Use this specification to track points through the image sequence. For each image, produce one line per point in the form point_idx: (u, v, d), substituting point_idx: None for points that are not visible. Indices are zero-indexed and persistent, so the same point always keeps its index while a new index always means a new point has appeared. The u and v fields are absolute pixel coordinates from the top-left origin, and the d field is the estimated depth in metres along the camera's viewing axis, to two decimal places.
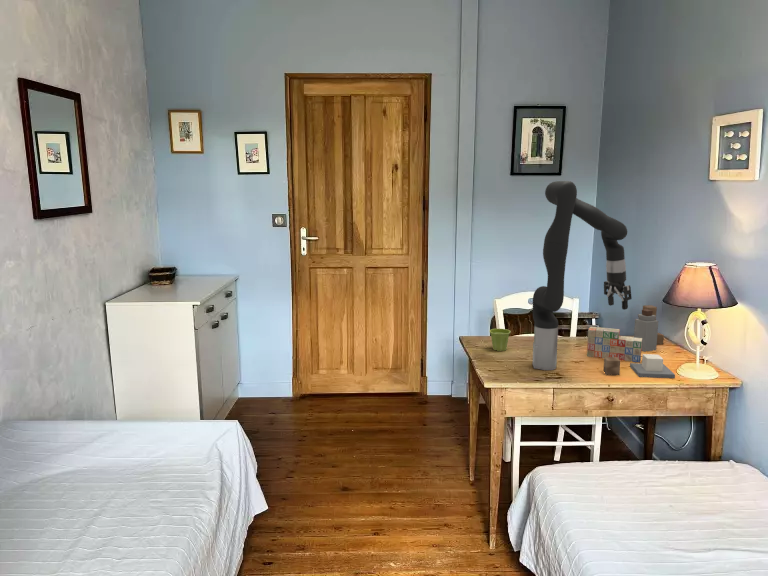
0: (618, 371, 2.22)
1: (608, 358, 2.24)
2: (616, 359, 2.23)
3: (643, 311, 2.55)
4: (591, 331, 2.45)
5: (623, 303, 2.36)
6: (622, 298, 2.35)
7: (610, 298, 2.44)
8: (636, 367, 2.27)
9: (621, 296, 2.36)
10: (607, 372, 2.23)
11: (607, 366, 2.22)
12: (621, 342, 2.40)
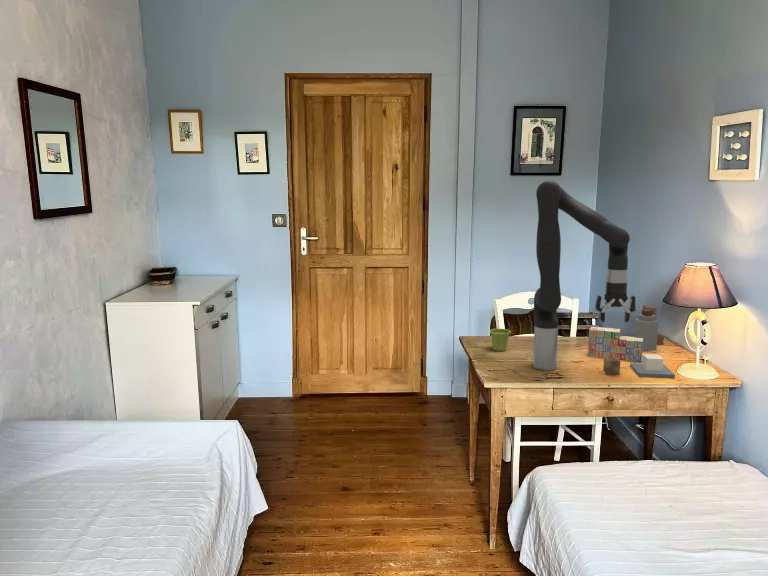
0: (618, 371, 2.22)
1: (608, 358, 2.24)
2: (616, 359, 2.23)
3: (643, 311, 2.55)
4: (592, 331, 2.45)
5: None
6: (601, 308, 2.22)
7: (625, 313, 2.21)
8: (636, 367, 2.27)
9: (603, 306, 2.22)
10: (607, 372, 2.23)
11: (607, 366, 2.22)
12: (622, 342, 2.40)
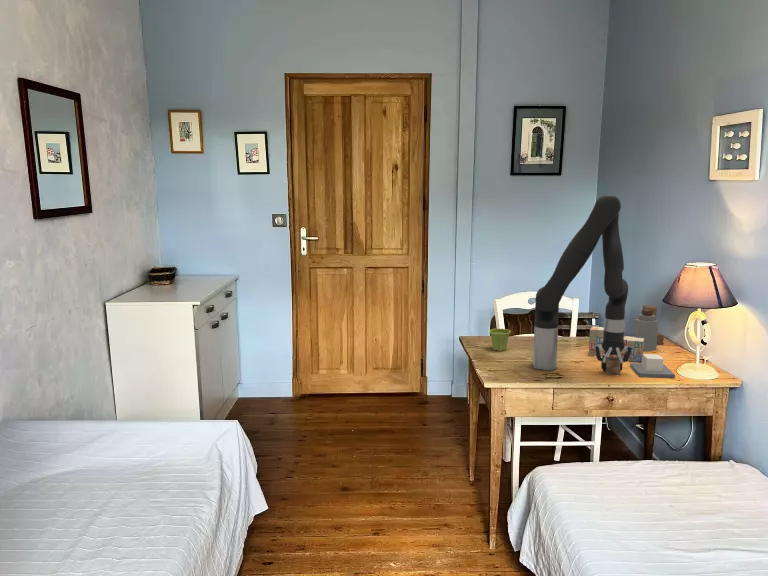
0: (618, 371, 2.22)
1: (608, 358, 2.24)
2: (616, 359, 2.23)
3: (643, 311, 2.55)
4: (593, 330, 2.46)
5: None
6: None
7: None
8: (636, 367, 2.27)
9: (603, 355, 2.25)
10: (607, 372, 2.23)
11: (607, 366, 2.22)
12: None
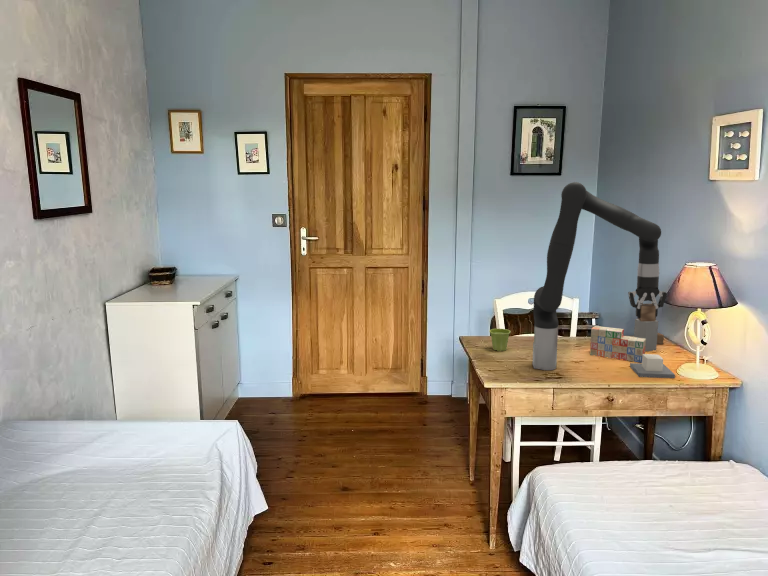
0: (653, 317, 2.19)
1: (642, 304, 2.21)
2: (651, 305, 2.20)
3: None
4: (594, 330, 2.47)
5: None
6: None
7: None
8: (636, 367, 2.27)
9: (637, 302, 2.22)
10: (642, 318, 2.19)
11: (642, 312, 2.19)
12: (624, 342, 2.40)
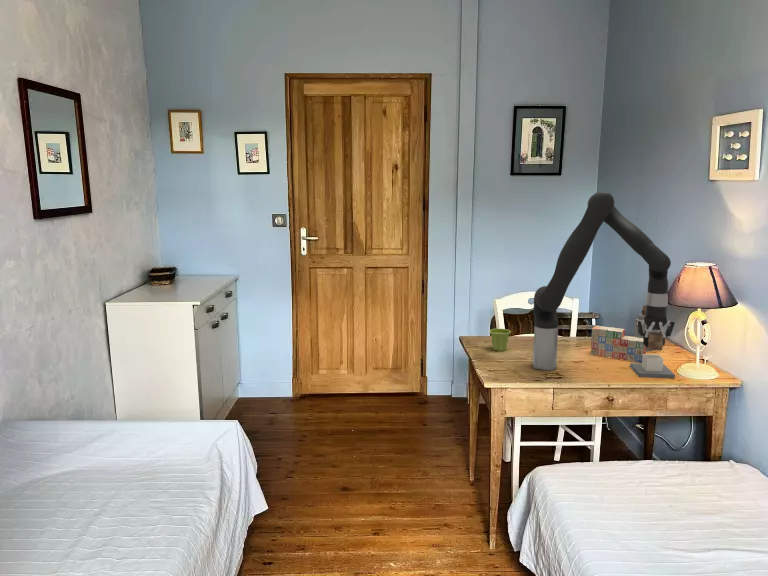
0: (661, 346, 2.21)
1: (650, 333, 2.23)
2: (659, 334, 2.22)
3: (643, 311, 2.55)
4: (595, 330, 2.47)
5: None
6: None
7: None
8: (636, 367, 2.27)
9: None
10: (650, 347, 2.22)
11: (650, 341, 2.21)
12: (624, 341, 2.41)
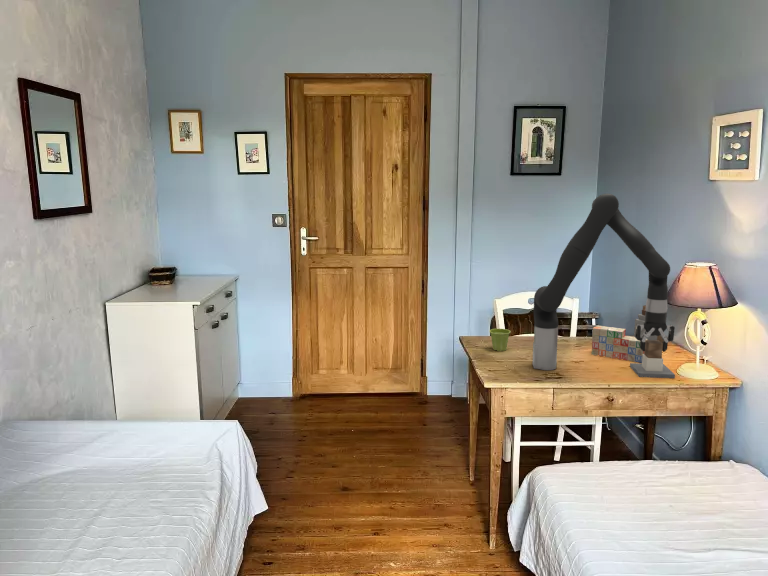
0: (660, 354, 2.21)
1: (650, 341, 2.24)
2: (658, 342, 2.23)
3: (643, 311, 2.55)
4: (595, 330, 2.47)
5: None
6: (641, 337, 2.25)
7: None
8: (636, 367, 2.27)
9: None
10: (649, 355, 2.22)
11: (649, 349, 2.22)
12: (624, 341, 2.41)
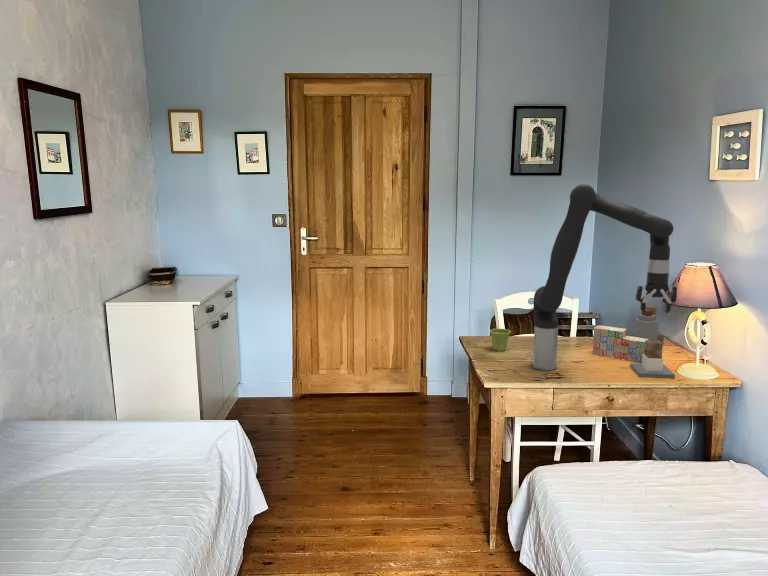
0: (660, 354, 2.21)
1: (650, 341, 2.24)
2: (658, 342, 2.23)
3: None
4: (596, 329, 2.48)
5: None
6: (642, 298, 2.22)
7: (665, 304, 2.21)
8: (636, 367, 2.27)
9: None
10: (649, 355, 2.22)
11: (649, 349, 2.22)
12: (625, 341, 2.41)
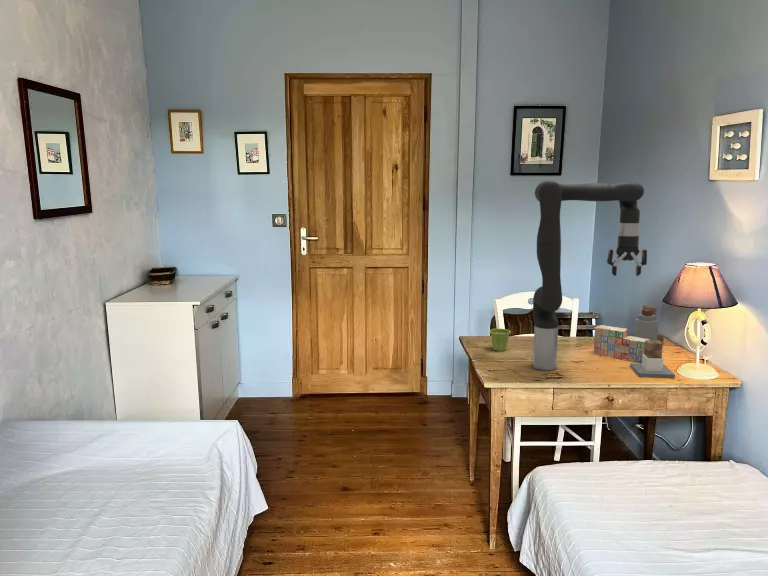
0: (660, 354, 2.21)
1: (650, 341, 2.24)
2: (658, 342, 2.23)
3: (643, 311, 2.55)
4: (597, 329, 2.48)
5: None
6: None
7: (636, 267, 2.24)
8: (636, 367, 2.27)
9: (615, 260, 2.25)
10: (649, 355, 2.22)
11: (649, 349, 2.22)
12: (626, 341, 2.41)
